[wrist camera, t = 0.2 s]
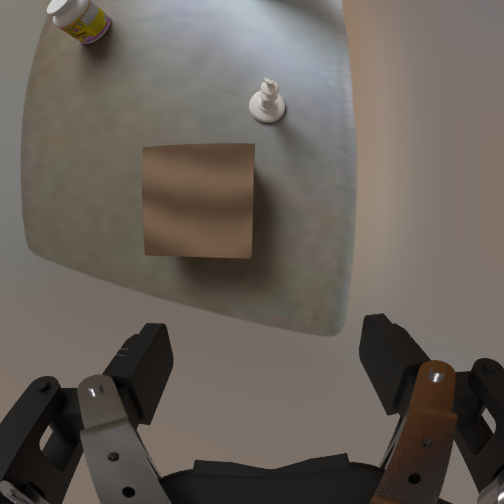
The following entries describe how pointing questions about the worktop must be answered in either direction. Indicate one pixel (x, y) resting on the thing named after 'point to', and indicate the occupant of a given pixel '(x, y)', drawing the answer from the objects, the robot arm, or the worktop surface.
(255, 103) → the chess piece
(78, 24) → the supplement bottle
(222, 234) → the small wooden table
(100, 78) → the worktop surface
